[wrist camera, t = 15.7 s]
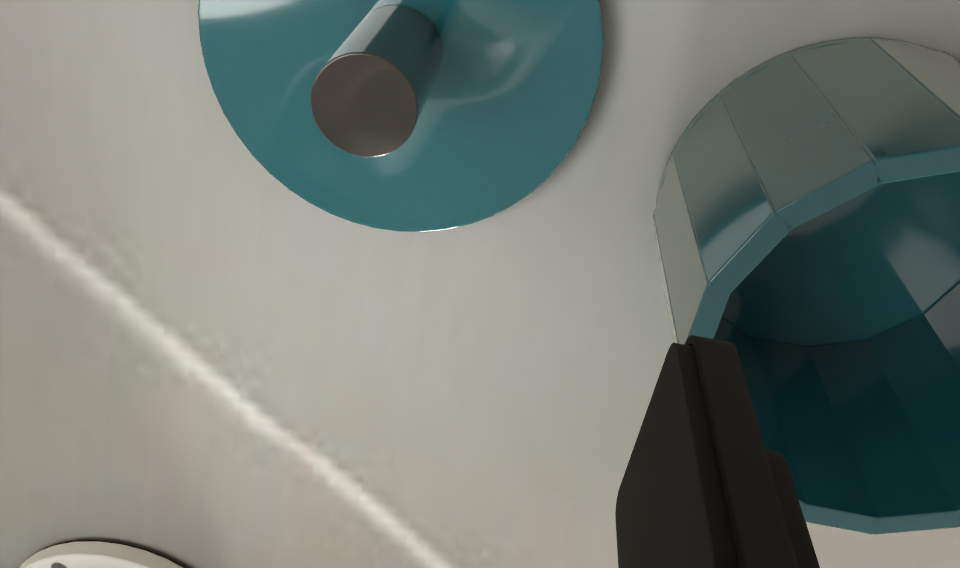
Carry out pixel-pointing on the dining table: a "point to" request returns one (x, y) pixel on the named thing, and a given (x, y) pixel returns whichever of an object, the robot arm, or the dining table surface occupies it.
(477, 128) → the lid
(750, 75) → the pot
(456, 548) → the dining table surface
